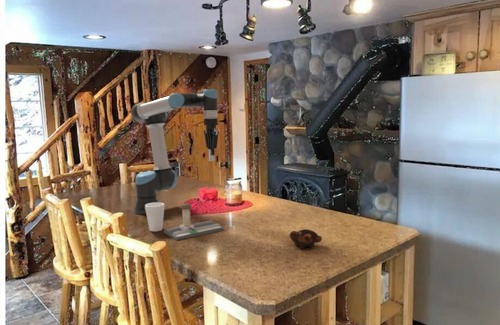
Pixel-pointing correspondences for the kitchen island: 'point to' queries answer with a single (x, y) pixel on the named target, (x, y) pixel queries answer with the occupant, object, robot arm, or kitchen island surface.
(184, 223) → the tuning slider
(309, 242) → the decorative turtle
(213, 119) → the robot arm
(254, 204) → the kitchen island surface
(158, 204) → the foam cup
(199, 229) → the board
